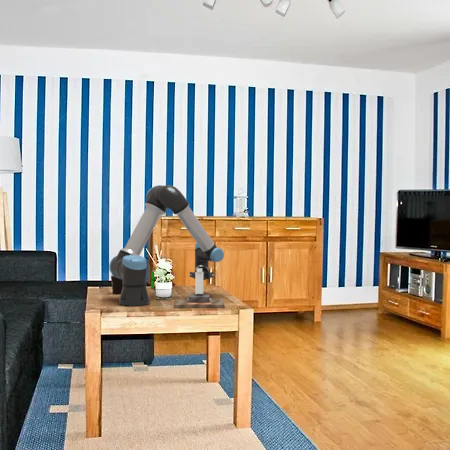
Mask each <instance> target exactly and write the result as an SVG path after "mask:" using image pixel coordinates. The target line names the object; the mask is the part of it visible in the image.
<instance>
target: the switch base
mask: <svg viewBox="0 0 450 450" xmlns="http://www.w3.org/2000/svg"><path fill="white" fill-rule="evenodd" d="M173 309H225V302H224V299H223V298H218V299H217V298H215V299H214V298H210V294H203V295H195V294H189V295H188V298H175V299H174V304H173Z"/></svg>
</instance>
